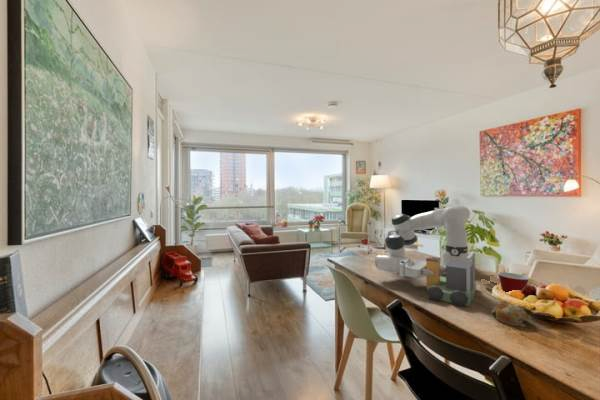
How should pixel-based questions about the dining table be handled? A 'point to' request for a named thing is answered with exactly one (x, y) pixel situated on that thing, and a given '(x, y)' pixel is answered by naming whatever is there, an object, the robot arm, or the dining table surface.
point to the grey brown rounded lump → (510, 314)
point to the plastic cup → (512, 281)
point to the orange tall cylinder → (434, 264)
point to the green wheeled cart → (456, 283)
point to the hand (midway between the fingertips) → (435, 270)
